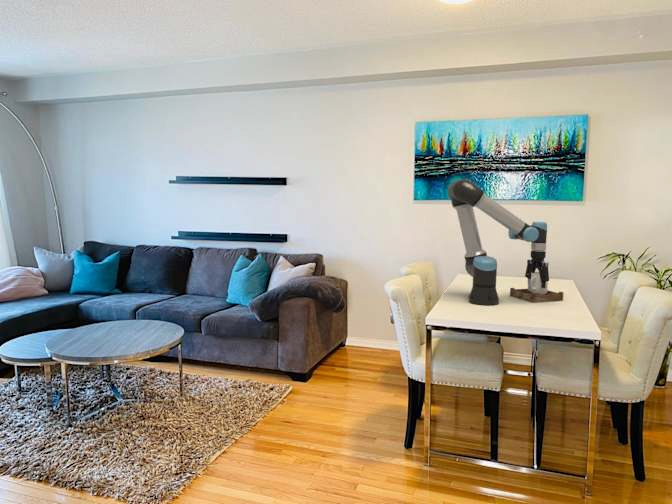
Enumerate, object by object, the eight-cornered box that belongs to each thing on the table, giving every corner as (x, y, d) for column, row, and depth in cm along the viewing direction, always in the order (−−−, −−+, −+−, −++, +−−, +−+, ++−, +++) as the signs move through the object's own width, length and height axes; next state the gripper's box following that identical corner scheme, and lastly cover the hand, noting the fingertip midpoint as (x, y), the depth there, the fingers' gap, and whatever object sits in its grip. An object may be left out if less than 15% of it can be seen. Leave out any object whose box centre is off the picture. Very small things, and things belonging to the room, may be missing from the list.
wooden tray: (509, 295, 286) (510, 287, 285) (538, 294, 292) (538, 286, 292) (533, 302, 268) (533, 294, 267) (562, 300, 274) (563, 292, 274)
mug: (522, 292, 279) (523, 272, 278) (536, 290, 286) (537, 271, 285) (537, 295, 272) (538, 275, 271) (550, 293, 279) (551, 273, 278)
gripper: (519, 248, 286) (517, 289, 288) (546, 252, 266) (544, 296, 268) (530, 248, 288) (528, 288, 291) (558, 252, 268) (555, 295, 271)
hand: (536, 292), depth 280 cm, fingers closed on mug, 8 cm apart
